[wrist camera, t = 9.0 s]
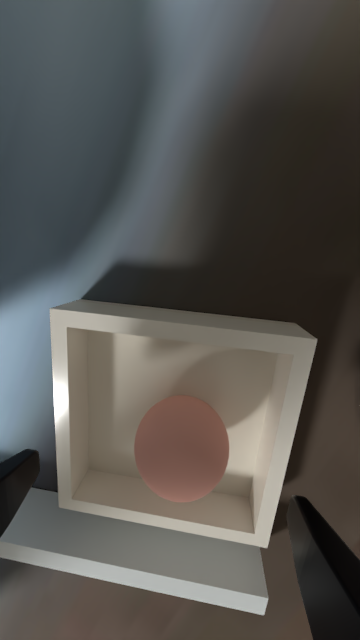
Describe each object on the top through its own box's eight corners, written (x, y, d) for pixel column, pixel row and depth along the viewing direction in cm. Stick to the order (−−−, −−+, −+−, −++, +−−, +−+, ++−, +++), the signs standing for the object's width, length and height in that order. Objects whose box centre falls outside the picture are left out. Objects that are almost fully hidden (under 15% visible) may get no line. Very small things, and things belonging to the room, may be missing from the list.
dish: (82, 468, 15) (58, 507, 12) (79, 299, 12) (49, 308, 10) (257, 499, 14) (267, 548, 11) (295, 323, 11) (317, 339, 9)
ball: (129, 452, 12) (136, 540, 9) (132, 380, 11) (141, 444, 8) (204, 443, 13) (239, 518, 10) (213, 377, 12) (255, 431, 9)
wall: (-49, 486, 16) (-104, 534, 14) (-52, 471, 16) (-108, 518, 13) (253, 544, 15) (263, 615, 12) (256, 530, 14) (268, 598, 11)
